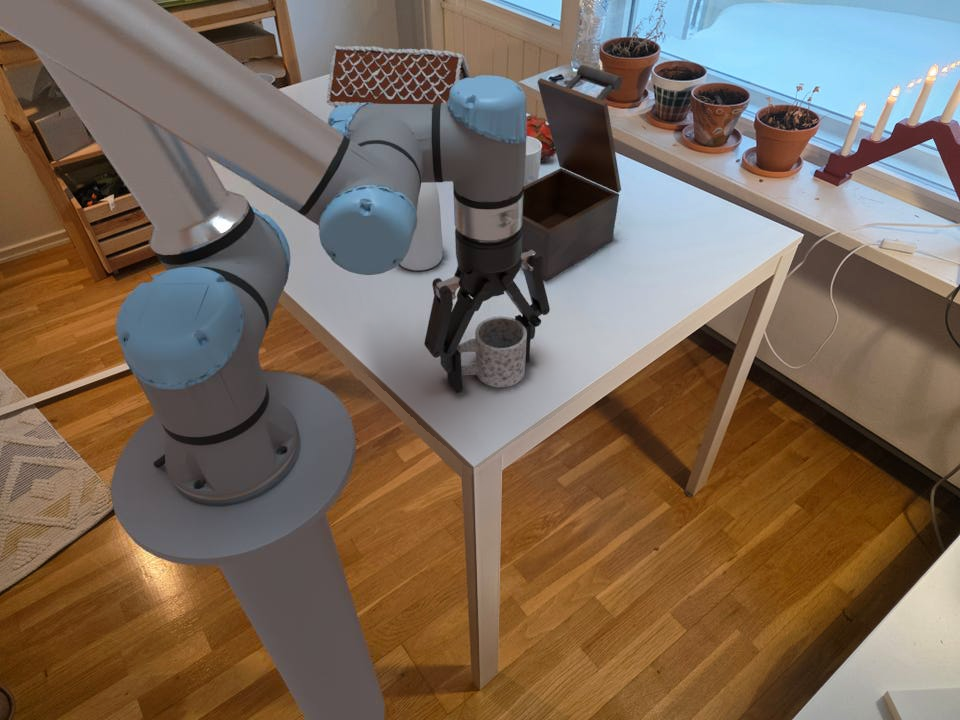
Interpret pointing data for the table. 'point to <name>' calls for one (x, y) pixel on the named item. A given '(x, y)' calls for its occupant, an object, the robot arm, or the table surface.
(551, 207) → the chest
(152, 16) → the robot arm
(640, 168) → the table surface
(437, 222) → the milk bottle
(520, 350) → the mug
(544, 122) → the dragon fruit
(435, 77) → the gingerbread house
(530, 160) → the white cup
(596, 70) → the lid
